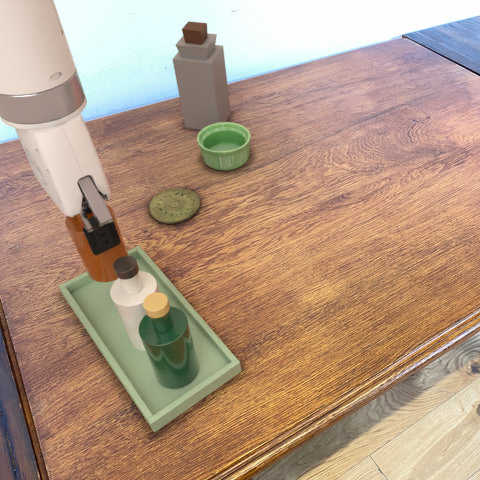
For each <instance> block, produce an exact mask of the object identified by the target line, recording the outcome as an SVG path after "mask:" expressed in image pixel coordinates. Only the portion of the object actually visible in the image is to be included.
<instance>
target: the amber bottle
mask: <svg viewBox="0 0 480 480" xmlns="http://www.w3.org/2000/svg"><path fill="white" fill-rule="evenodd" d="M83 201H85V198H82V202H83ZM106 205H107V208H108V210H109V212H110V214H111V216H112V218H113V221H114V224H115V227H116V229H117V232H118V235H119V238H120V240H121V243H120V244H119V245H117V246H115V247H113V248H111V249H109V250H107V251H105V252H103V253H101V254H99V255H94V254H93V252H92V251H91V248H90V246H89V244H88V241H87V239H86V237H85V234H84V232H83V230H82V228H84V225H83V222H82V220H81V218H80V216H79V214H77V215H75V216H74V217H69V216H66V215H65V216H66V217H65V219H64V225H65V227H66V229H67V231H68V234H69V236H70V239H71V240H72V242H73V244H74V247H75V249H76V251H77V254H78V256H79V258H80V260H81V262H82V264H83V267H84V269H85V272H87V273H88V275H89V277H90V278H91V279H92V280H94V281H97V282H111V281H115V280H117V279H118V277H117V276H116V273H115V271H114V268H113V264H114V262H115V261H116V260H117V259H118V258H120V257H122V256H129V254H128V251H129V250H128V248H127V246H126V243H125V240H124V237H123V234H122V232H121V228H120V226H119V223H118V220H117V218H116V214H115V211H114V210H113V208H112V207H111V206H110V205H109V204H108V203H106ZM85 213H86V215H87V217H88V219H90V217H93V216H94V215H93V212H92V210H91V209H90V208H89V209H87V210H85Z"/></svg>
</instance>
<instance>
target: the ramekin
mask: <svg viewBox="0 0 480 480" xmlns="http://www.w3.org/2000/svg"><path fill="white" fill-rule="evenodd" d="M251 136H252V135H251V132H250V131H249V129H248V128H247V127H246V126H244V125H242V124H240V123H236V122H232V121H231V122H230V121H226V122H220V123H215V124H211V125H209V126H207V127H205V128H203V129H202V130H199V132H198V133H197V136H196V142H197V144H198V146H199V149H200V154H201V157H202V161H203V162H204V164H205V165H206V166H208V167H209V168H211V169H214V170H218V171H231V170H235V169H239V168H240V167H242V166H243V165H245V164H246V163H247V162H248V160H249V157H250V143H251V138H252V137H251Z"/></svg>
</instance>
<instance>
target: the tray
mask: <svg viewBox="0 0 480 480" xmlns="http://www.w3.org/2000/svg"><path fill="white" fill-rule="evenodd" d="M127 251H128V254H129V256H132V257H134V258H135V259H136V261H137V263H138V266H139V271H144V272H147V273H150V274H151V275H153V276H154V278H155V279H156V281H157V285H158V288H159V291H160V293H163V294H165V295H166V296H167V298H168V301H169V304H170V306H172V307H176V308H178V309H180V310H182V311H183V312H184V313H185V315H186V317H187V320H188V323H189V327H190V331H191V335H192V339H193V342H194V346H195V350H196V354H197V357H198V361H199V372H198V375H197V376H196V378H195V379H194V380H193V381H192V382H191V383H190V384H189V385H187V386H185V387H183V388H179V389H169V388H166V387H163V386H162V385H161V384H160V383H159V382H158V381H157V378H156V376H155V373H154V371H153V368H152V366H151V363H150V361H149V358H148V356H147V353H146V351H140V350H137V349H136V348H134V347H133V346H132V345H131V343H130V341H129V338H128V336H127V334H126V331H125V329H124V327H123V324H122V322H121V319H120V317H119V315H118V312H117V310H116V308H115V305H114V303H113V301H112V298H111V295H110V290H111V287H112V285H113V283H114V282H115V281H116V280H115V281H111V282H97V281H94V280H92V279H91V278H90V277H89V275H88V273H87V271H85V272H82V273H81V274H79V275H77V276H75V277H73V278H71V279H69V280H67V281H65V282H62V283H60V284H59V285H58V289H59V290H60V293H61V295H62V296H63V298H64V299H65V301H66V302H67V305H69V306H70V308H71V309H72V311H73V312H74V315H76V317H77V318H78V321H80V323H81V325H82V327H83V328H84V329H85V330H86V332H87V334H88V335H89V337H90V339H91V340H92V341H93V343H94V345H96V347H97V349H98V350H99V352H100V353H101V355H102V356H103V358H104V359H105V361H106V362H107V364H108V365H109V367H110V368H111V370H112V371H113V373H114V374H115V376H116V377H117V379H118V380H119V382H120V383H121V385H122V386H123V388H124V389H125V391H126V392H127V394H128V396H129V397H130V398H131V399H132V402H134V404H135V406H136V407H137V409H138V411H139V412H140V413H141V415H142V416H143V418H144V420H145V421H146V423H147V424H148V425H149V427H150V428H151V430H152V432H154V433H157V432H158V431H159V430H160V429H162V428H164V427H165V426H166V425H168V424H169V423H171V422H172V421H174V420H175V419H176V418H178V417H179V416H181V415H182V414H183V413H186V411H188V410H189V409H190V408H192V407H193V406H194V405H196V404H198V403H199V402H200V401H202V400H203V399H204V398H206V397H207V396H209V395H210V394H212V393H214V392H215V391H216V390H218V389H219V388H220V387H222V386H223V385H225V384H226V383H227V382H228V381H229V382H230V380H231V379H233V378H235V377H236V376H237V375H239V374H240V373H242V364H241V362H240V360H239V359H238V357H236V356H235V355H234V353H233V352H232V351H231V350H230V348H229V347H227V345H226V344H225V343H224V342H223V340H222V339H221V338H220V337H219V336H218V334H216V333H215V331H214V330H213V329H212V328H211V326H210V325H209V324H208V323H207V322H206V321H205V320H204V319H203V317H202V316H201V315H200V314H199V313H198V311H197V310H196V309H195V308H194V307H193V306H192V305H191V304H190V302H189V301H188V300H187V299H186V298H185V296H184V295H183V294H182V293H181V292H180V290H178V288H177V287H176V286H175V285H174V284H173V283H172V282H171V281H170V279H169V278H168V277H167V276H166V275H165V273H164V272H163V271H162V270H161V269H160V268H159V266H158V265H157V264H156V263H155V262H154V261H153V259H152V258H151V257H150V256H149V255H148V253H146V251H145V250H144V249H143V248H142V247H141V245H137V246H134V247H133V248H130V249H129V250H127Z"/></svg>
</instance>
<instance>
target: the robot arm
mask: <svg viewBox="0 0 480 480" xmlns="http://www.w3.org/2000/svg"><path fill="white" fill-rule="evenodd" d="M87 104H88V99H87V97H86V93H85V91H84V87H83V84H82V81H81V78H80V75H79V72H78V70H77V66H76V63H75V61H74V57H73V54H72V51H71V49H70V46H69V42H68V39H67V37H66V33H65V31H64V27H63V25H62V22H61V19H60V15H59V13H58V9H57V6H56V3H55V1H54V0H0V120H1V121H2V123H4V124H5V125H7V126H8V127H12V128H14V130H15V132H16V134H17V137H18V139H19V142H20V144H21V147H22V149H23V151H24V154H25V156H26V159H27V161H28V164H29V166H30V169H31V170H32V173H33V175H34V177H35V179H36V180H37V182H38V183H39V184H40V186H41V188H42V189H43V190H44V191H45V193H46V194H47V195H48V196H49V198H50V199H51V200H52V201H53V203H54V205H55V206H56V207H57V208H58V209H59V210H60V212H61V213H62V214H63V215H64V216H69V217H74V216H75V215H77V214H79V216H80V218H81V220H82V222H83V225H84V228H82V230H83V232H84V234H85V237H86V239H87V241H88V244H89V246H90V248H91V251H92V252H93V254H94V255H99V254H101V253H103V252H105V251H107V250H109V249H111V248H113V247H115V246H117V245H119V244H120V243H121V240H120V238H119V235H118V232H117V229H116V227H115V224H114V221H113V218H112V216H111V214H110V212H109V210H108V208H107V205H108V204H107V203H106V202H109V201H110V200H111V196H112V193H111V189H110V188H111V187H110V185H109V181H108V179H107V176H106V173H105V170H104V167H103V165H102V162H101V159H100V156H99V154H98V151H97V149H96V146H95V144H94V141H93V139H92V136H91V132H90V130H89V129H88V127H87V124H86V122H85V120H84V117H83V115H82V112H83V111H84V110H85V108H86V106H87ZM82 198H85V201H83V202H82ZM106 204H107V205H106ZM89 208H90V209H91V210H92V212H93V215H94V216H93V217H90V219H88V217H87V215H86V213H85V210H87V209H89Z"/></svg>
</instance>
